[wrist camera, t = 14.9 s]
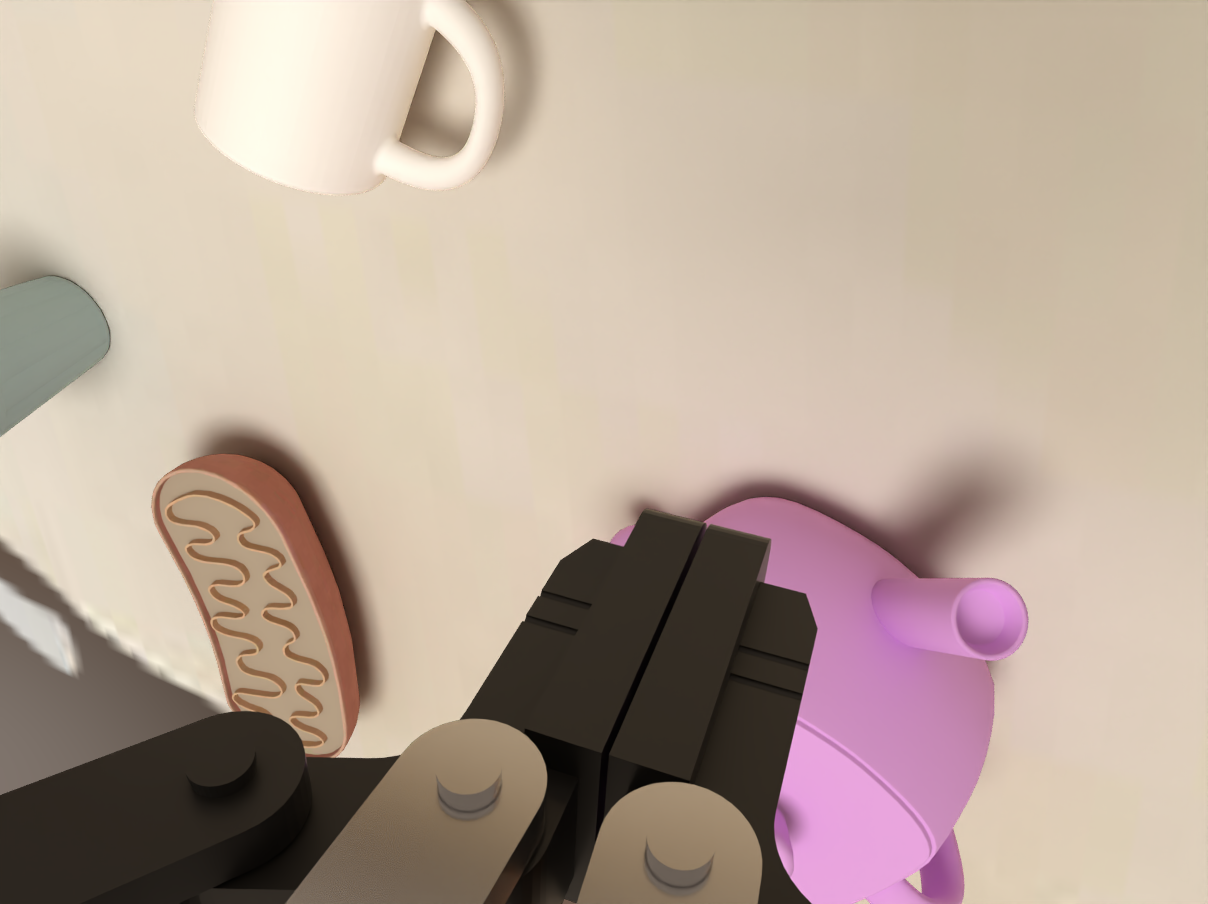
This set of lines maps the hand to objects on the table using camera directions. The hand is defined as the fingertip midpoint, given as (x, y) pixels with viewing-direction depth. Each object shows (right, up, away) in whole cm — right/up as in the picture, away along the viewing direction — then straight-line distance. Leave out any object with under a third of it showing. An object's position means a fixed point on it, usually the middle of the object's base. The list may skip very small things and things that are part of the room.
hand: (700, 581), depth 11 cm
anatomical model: (-20, -7, +50) cm, 54 cm away
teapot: (+10, -7, +38) cm, 39 cm away
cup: (-32, +9, +44) cm, 55 cm away
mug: (-9, +19, +29) cm, 36 cm away
